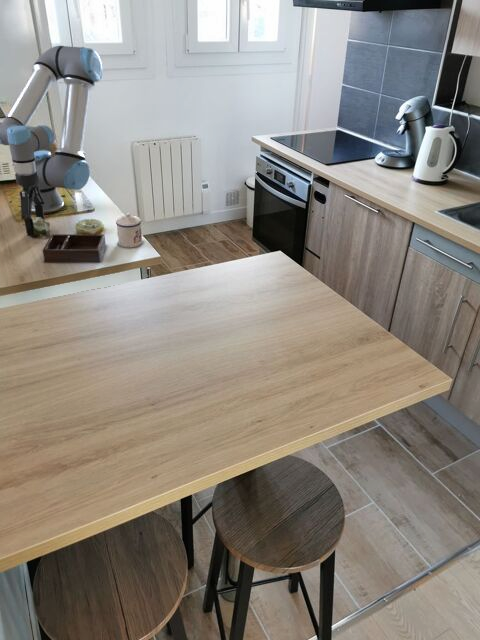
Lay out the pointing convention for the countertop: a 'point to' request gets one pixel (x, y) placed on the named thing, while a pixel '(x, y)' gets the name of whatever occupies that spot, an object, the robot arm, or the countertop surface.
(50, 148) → the stone cup
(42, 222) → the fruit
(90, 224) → the decorated donut
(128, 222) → the teacup with lid
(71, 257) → the caddy
